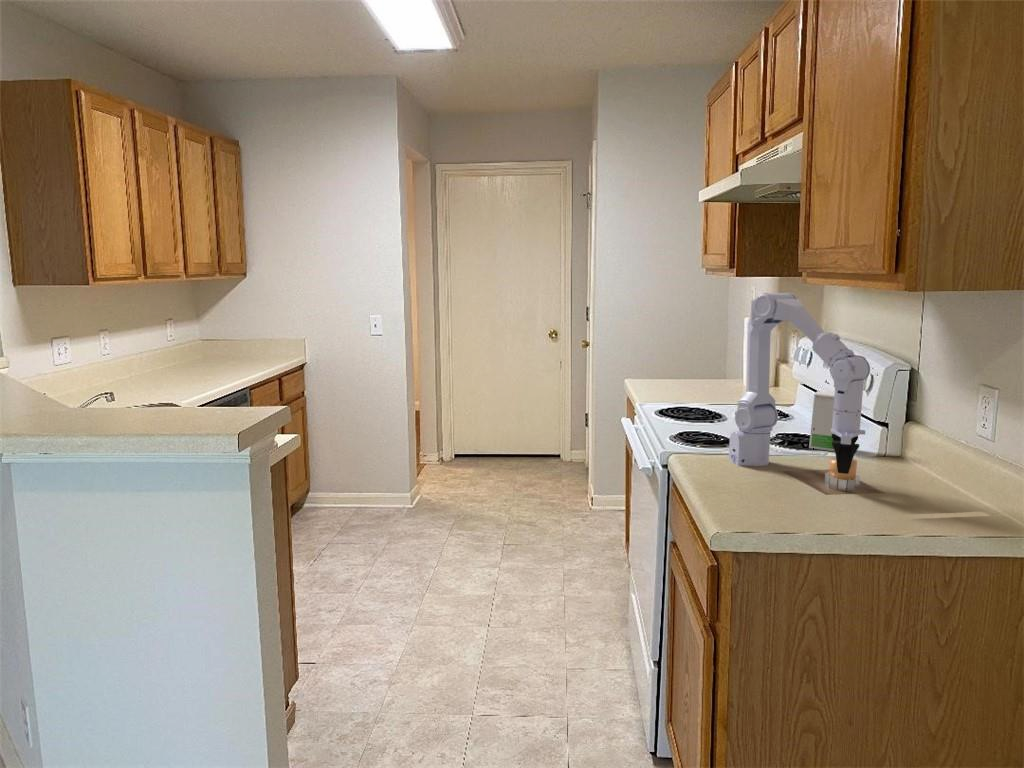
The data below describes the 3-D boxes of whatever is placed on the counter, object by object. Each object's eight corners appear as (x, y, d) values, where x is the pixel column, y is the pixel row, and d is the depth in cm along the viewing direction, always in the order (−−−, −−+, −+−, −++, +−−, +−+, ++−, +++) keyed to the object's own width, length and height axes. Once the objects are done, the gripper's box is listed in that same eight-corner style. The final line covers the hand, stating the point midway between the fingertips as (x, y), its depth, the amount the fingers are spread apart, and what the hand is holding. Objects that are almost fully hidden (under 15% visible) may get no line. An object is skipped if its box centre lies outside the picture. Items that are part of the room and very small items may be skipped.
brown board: (825, 497, 168) (825, 494, 168) (781, 474, 188) (781, 470, 188) (884, 495, 170) (884, 492, 170) (835, 472, 190) (835, 469, 190)
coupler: (855, 490, 171) (857, 464, 170) (828, 487, 173) (830, 461, 172) (854, 484, 176) (856, 458, 175) (828, 481, 178) (830, 456, 177)
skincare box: (808, 448, 215) (812, 393, 213) (812, 444, 221) (815, 390, 218) (840, 452, 211) (845, 396, 209) (843, 447, 217) (847, 393, 214)
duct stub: (835, 491, 170) (836, 480, 170) (818, 482, 177) (819, 472, 177) (865, 490, 171) (866, 479, 171) (847, 481, 178) (848, 471, 178)
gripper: (868, 417, 164) (863, 479, 166) (865, 406, 177) (861, 463, 179) (832, 414, 166) (828, 475, 168) (832, 404, 180) (828, 460, 182)
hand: (842, 469), depth 174 cm, fingers open, 6 cm apart
